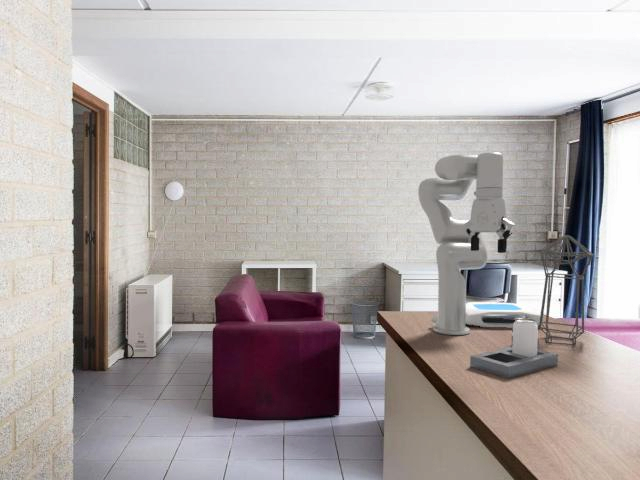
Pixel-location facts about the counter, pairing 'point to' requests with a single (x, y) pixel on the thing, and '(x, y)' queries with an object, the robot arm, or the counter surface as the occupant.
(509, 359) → the grey windowed frame
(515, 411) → the counter surface
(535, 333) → the can
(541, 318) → the geometric lantern
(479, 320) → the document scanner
